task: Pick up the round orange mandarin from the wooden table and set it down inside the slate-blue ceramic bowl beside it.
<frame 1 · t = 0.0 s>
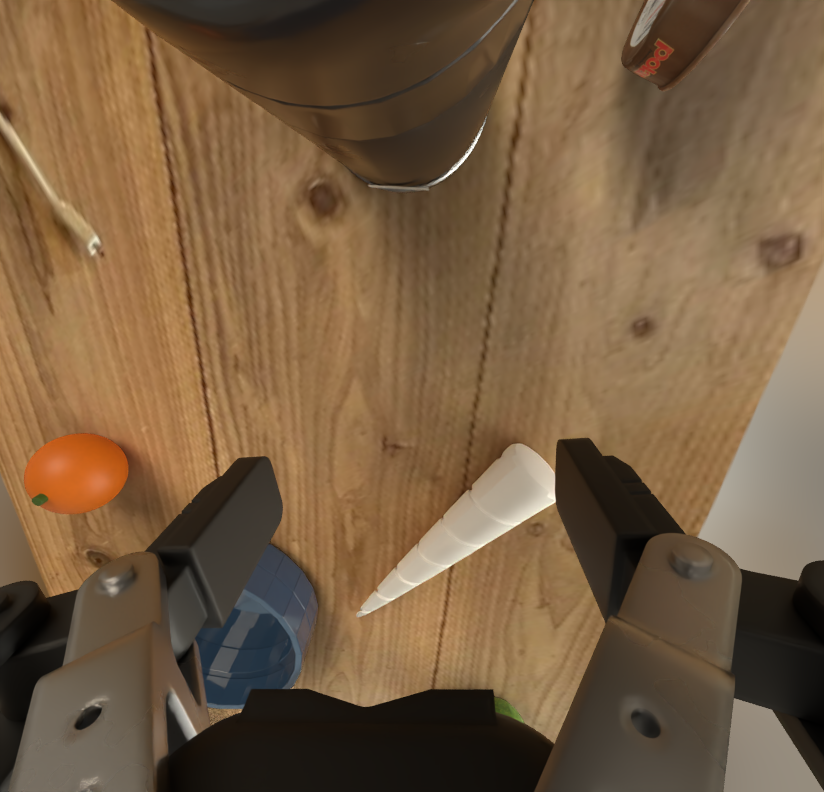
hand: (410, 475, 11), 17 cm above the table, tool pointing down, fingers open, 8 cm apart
mandarin: (79, 473, 30), point 3 cm above the table
avocado: (487, 699, 42), on the table
bowl: (232, 591, 38), on the table
unicorn horn: (444, 533, 34), on the table
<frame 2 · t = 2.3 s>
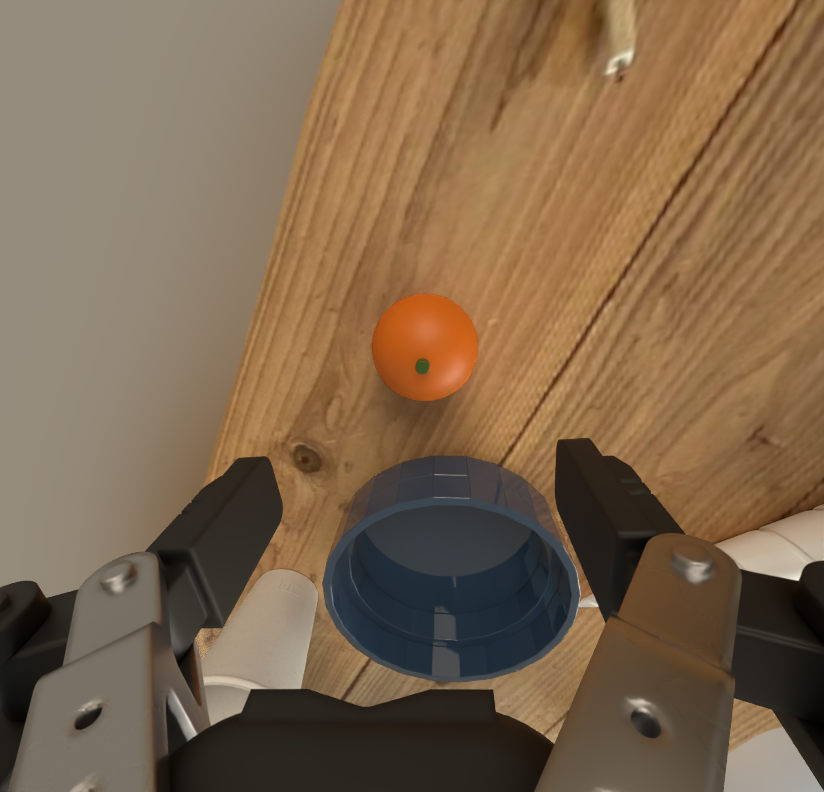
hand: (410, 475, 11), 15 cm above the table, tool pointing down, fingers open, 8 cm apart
mandarin: (424, 348, 22), point 3 cm above the table
dixie cup: (287, 590, 35), on the table
bowl: (447, 541, 31), on the table
unicorn horn: (730, 545, 30), on the table
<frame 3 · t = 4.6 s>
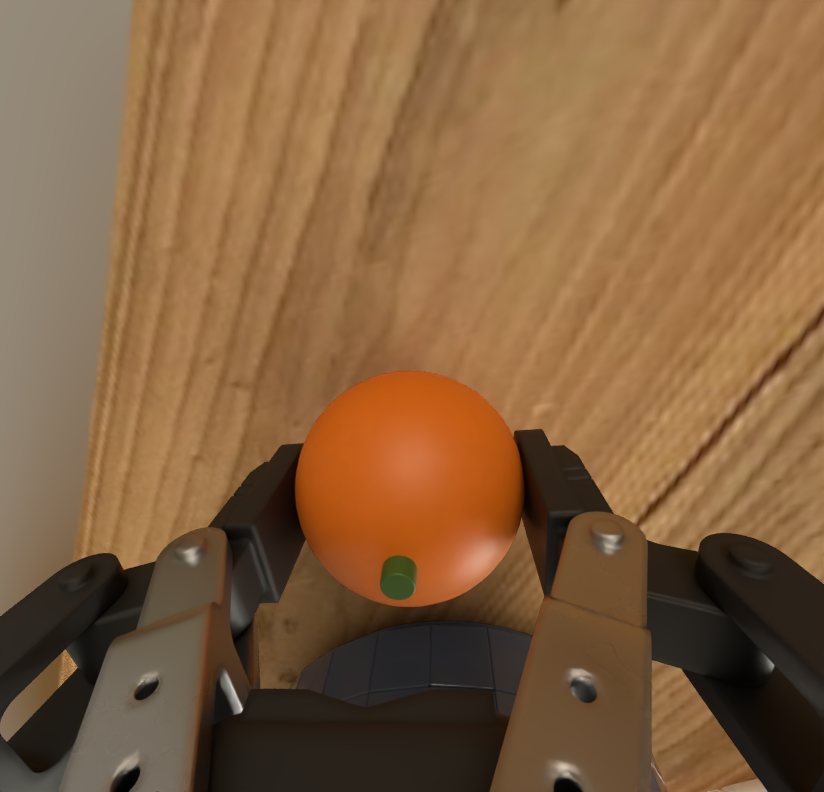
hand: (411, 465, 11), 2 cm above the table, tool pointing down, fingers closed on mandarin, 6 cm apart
mandarin: (410, 481, 11), point 3 cm above the table, touching gripper
bowl: (453, 727, 20), on the table
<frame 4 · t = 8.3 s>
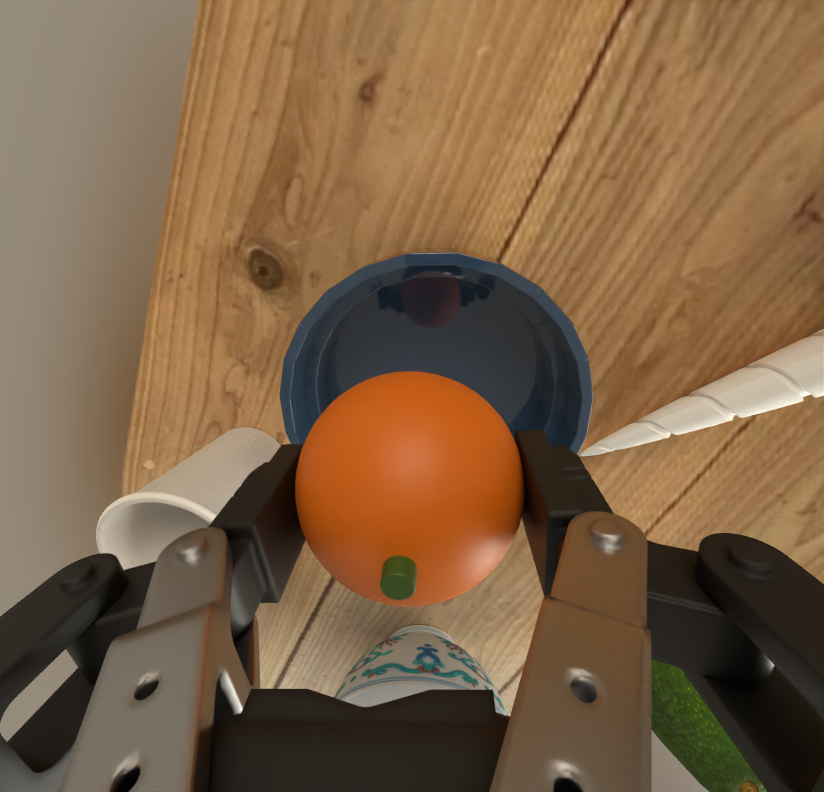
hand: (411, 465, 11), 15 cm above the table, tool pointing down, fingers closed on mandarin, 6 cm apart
mandarin: (410, 481, 11), point 16 cm above the table, touching gripper
avocado: (645, 619, 35), on the table
dixie cup: (252, 457, 31), on the table
bowl: (433, 381, 27), on the table
unicorn horn: (767, 370, 25), on the table
chinaware: (421, 646, 38), on the table
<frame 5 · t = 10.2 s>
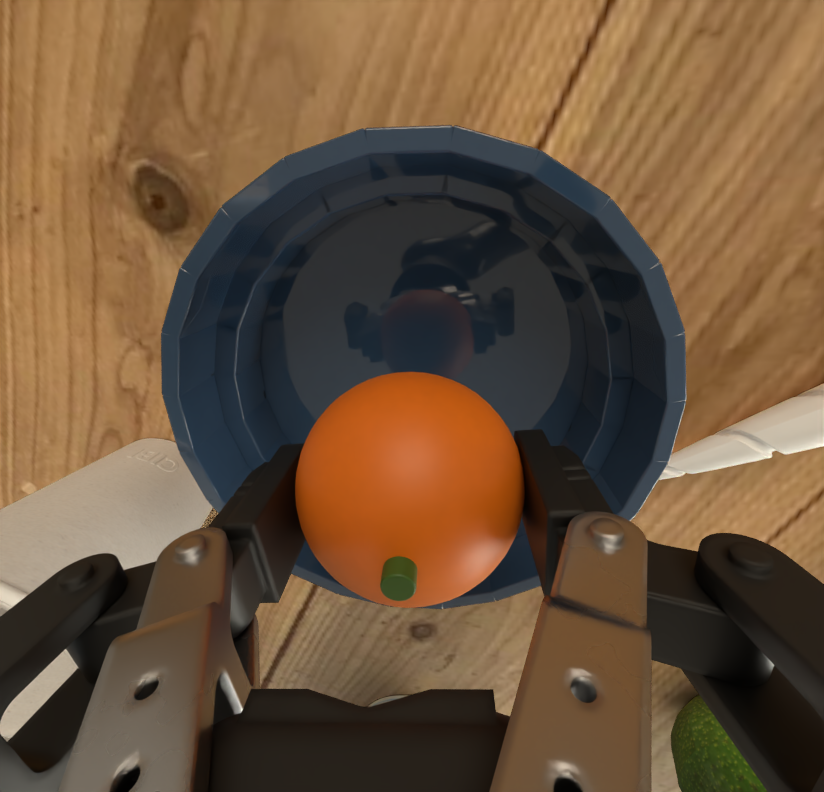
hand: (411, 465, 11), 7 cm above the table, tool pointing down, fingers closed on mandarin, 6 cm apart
mandarin: (410, 482, 11), point 8 cm above the table, touching gripper
avocado: (704, 694, 26), on the table
dixie cup: (169, 480, 22), on the table
bowl: (420, 373, 18), on the table
when the fingers open (3 cm above the table, at t = 11.9 s): mandarin stays where it is, resting on bowl.
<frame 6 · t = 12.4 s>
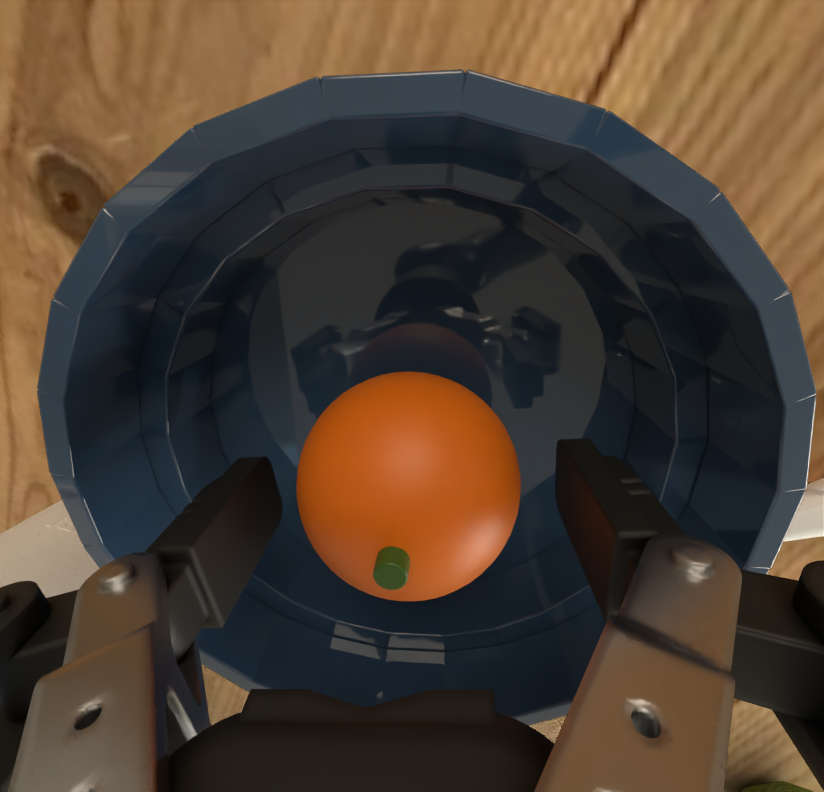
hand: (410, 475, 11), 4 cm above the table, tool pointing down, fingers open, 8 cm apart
mandarin: (408, 479, 11), point 4 cm above the table, touching bowl
avocado: (754, 781, 22), on the table
dixie cup: (112, 541, 18), on the table
bowl: (417, 419, 14), on the table
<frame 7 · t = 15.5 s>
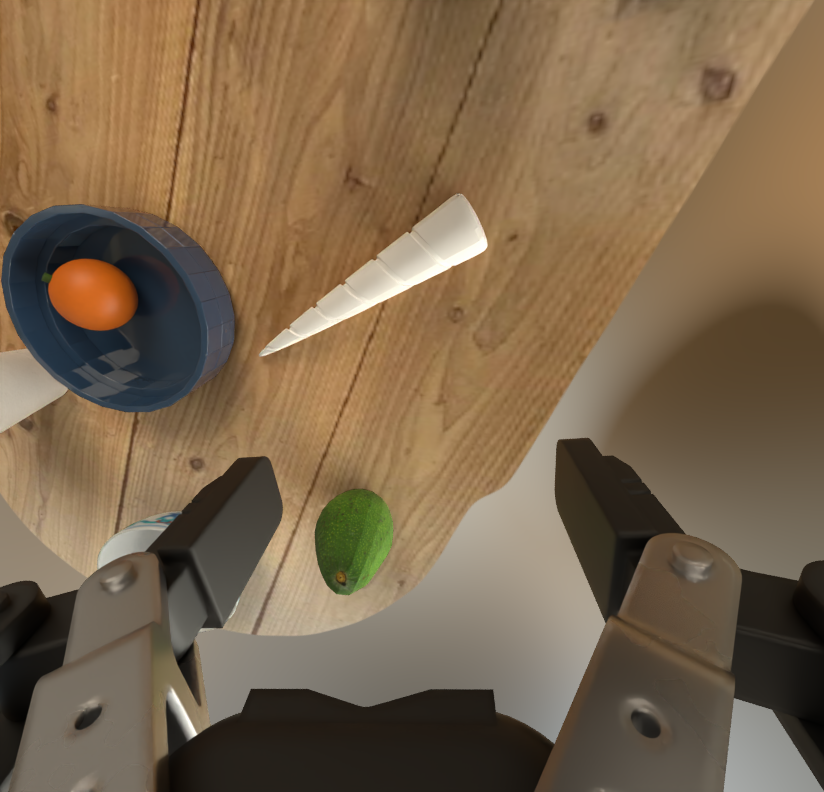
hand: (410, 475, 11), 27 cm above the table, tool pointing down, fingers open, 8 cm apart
mandarin: (95, 295, 34), point 4 cm above the table, tilted 50°, touching bowl
avocado: (363, 500, 45), on the table
dixie cup: (44, 373, 41), on the table
bowl: (151, 307, 38), on the table
unicorn horn: (369, 289, 36), on the table
chinaware: (208, 531, 49), on the table
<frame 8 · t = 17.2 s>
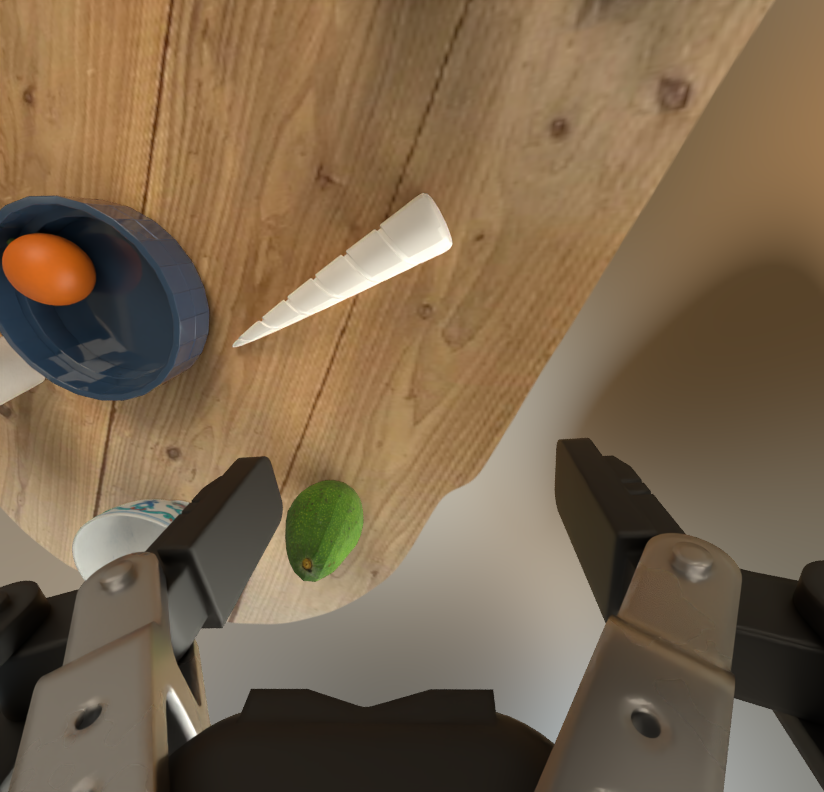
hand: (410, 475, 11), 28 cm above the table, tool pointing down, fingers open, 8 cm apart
mandarin: (52, 270, 34), point 4 cm above the table, tilted 84°, touching bowl
avocado: (337, 491, 46), on the table
dixie cup: (22, 361, 42), on the table
bowl: (127, 298, 38), on the table
unicorn horn: (341, 284, 37), on the table
chinaware: (185, 520, 49), on the table
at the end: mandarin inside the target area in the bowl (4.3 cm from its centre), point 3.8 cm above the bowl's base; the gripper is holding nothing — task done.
